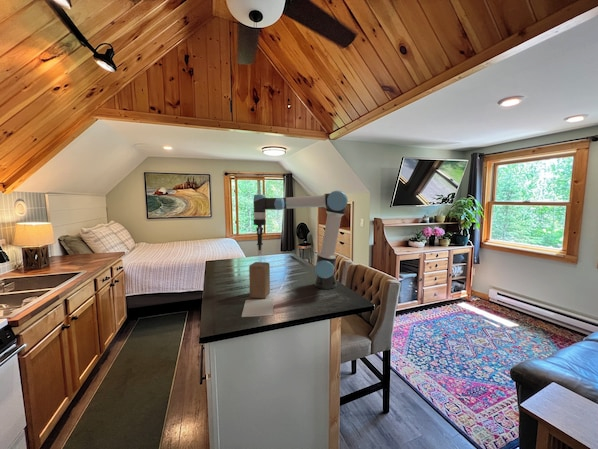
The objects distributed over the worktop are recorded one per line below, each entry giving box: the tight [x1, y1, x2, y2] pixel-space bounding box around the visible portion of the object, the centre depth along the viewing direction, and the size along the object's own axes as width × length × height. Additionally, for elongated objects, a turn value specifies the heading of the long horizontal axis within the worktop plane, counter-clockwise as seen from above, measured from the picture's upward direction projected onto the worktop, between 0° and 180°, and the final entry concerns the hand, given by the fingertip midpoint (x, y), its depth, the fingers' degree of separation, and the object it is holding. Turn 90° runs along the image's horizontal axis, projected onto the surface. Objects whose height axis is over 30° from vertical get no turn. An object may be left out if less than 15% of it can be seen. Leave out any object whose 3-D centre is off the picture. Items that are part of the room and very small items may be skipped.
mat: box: [241, 298, 274, 318], centre depth 136 cm, size 16×21×1 cm
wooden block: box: [248, 261, 271, 299], centre depth 152 cm, size 10×10×20 cm
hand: (259, 254), depth 163 cm, fingers closed
